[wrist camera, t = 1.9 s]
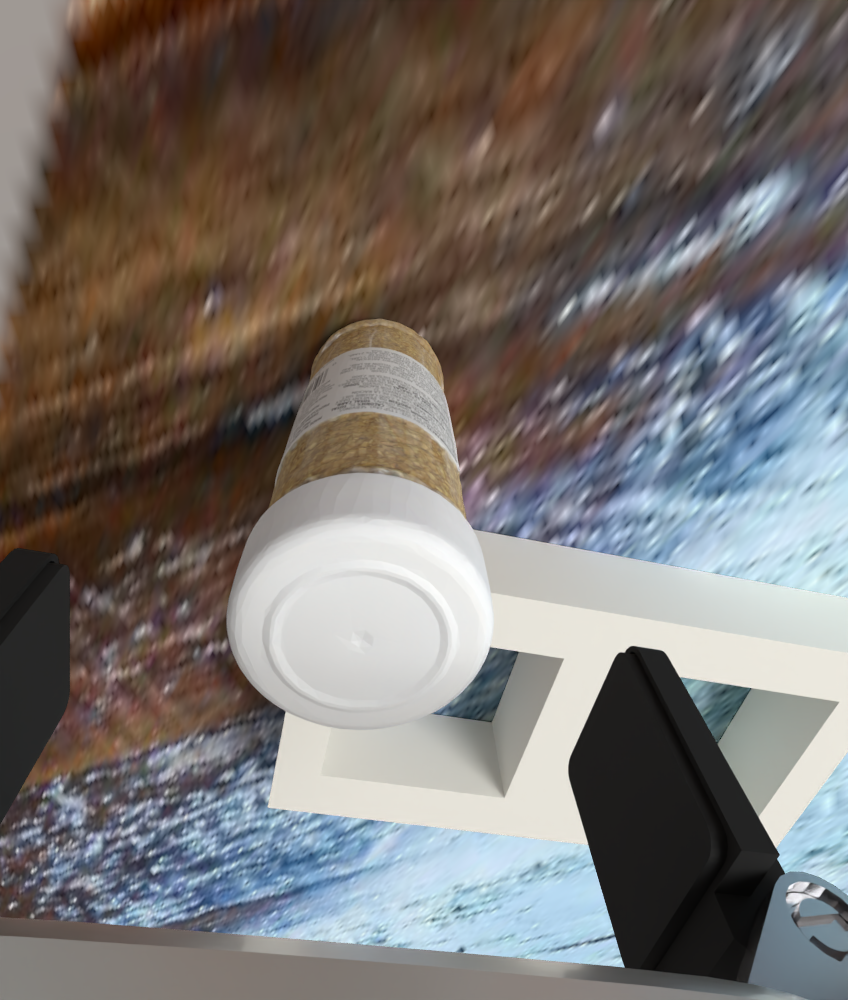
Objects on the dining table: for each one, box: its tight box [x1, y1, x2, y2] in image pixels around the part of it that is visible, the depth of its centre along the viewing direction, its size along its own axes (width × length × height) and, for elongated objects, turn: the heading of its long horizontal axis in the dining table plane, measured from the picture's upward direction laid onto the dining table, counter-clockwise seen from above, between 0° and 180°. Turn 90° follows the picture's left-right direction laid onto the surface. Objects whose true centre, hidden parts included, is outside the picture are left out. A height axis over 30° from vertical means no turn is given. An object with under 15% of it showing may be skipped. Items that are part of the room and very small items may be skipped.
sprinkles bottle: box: [226, 318, 494, 730], centre depth 17 cm, size 5×5×14 cm
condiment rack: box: [268, 530, 848, 848], centre depth 28 cm, size 12×22×4 cm, turn 77°
